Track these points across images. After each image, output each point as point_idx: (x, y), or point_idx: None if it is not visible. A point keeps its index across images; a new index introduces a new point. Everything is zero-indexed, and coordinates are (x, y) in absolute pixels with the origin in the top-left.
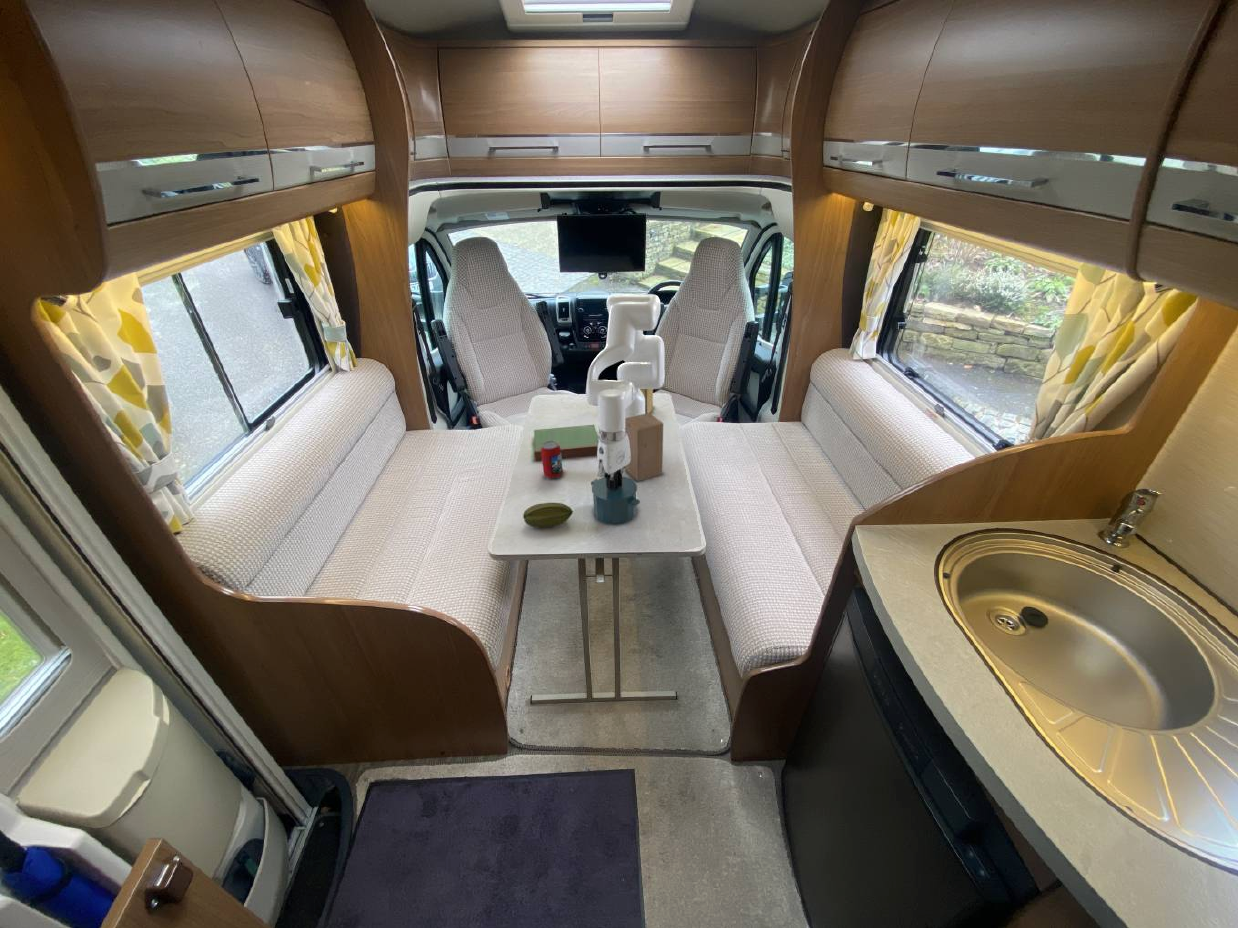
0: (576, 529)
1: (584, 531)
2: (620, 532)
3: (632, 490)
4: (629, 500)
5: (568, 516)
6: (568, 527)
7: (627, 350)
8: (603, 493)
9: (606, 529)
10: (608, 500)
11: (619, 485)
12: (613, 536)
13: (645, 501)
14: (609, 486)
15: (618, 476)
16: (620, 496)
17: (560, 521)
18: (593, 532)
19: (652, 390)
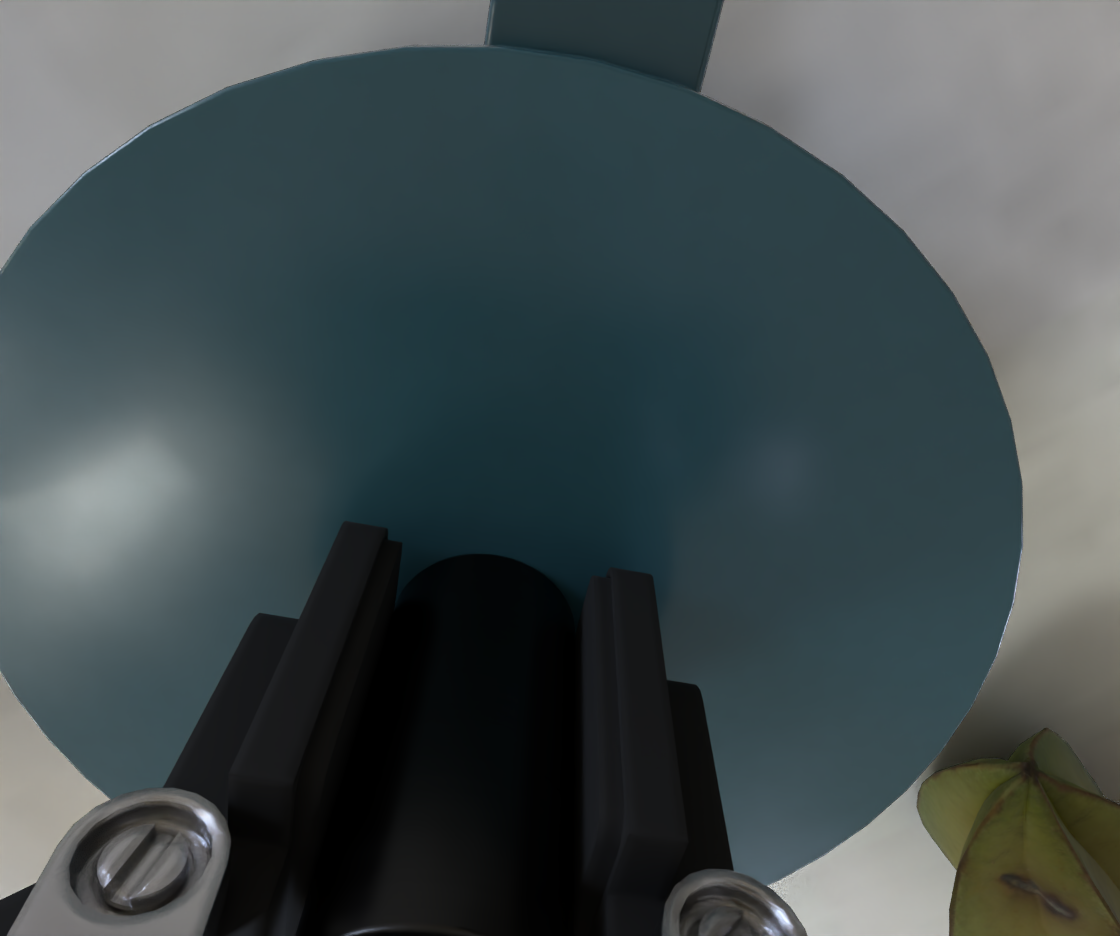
0: (1054, 566)
1: (1068, 475)
2: (950, 26)
3: (337, 184)
4: (678, 68)
5: (1050, 752)
6: (1042, 647)
7: None
8: (807, 691)
9: (945, 260)
10: (1013, 489)
11: (398, 573)
12: (1079, 73)
13: (32, 107)
14: (700, 733)
15: (326, 804)
16: (768, 326)
17: (1070, 761)
18: (1060, 374)
19: None
